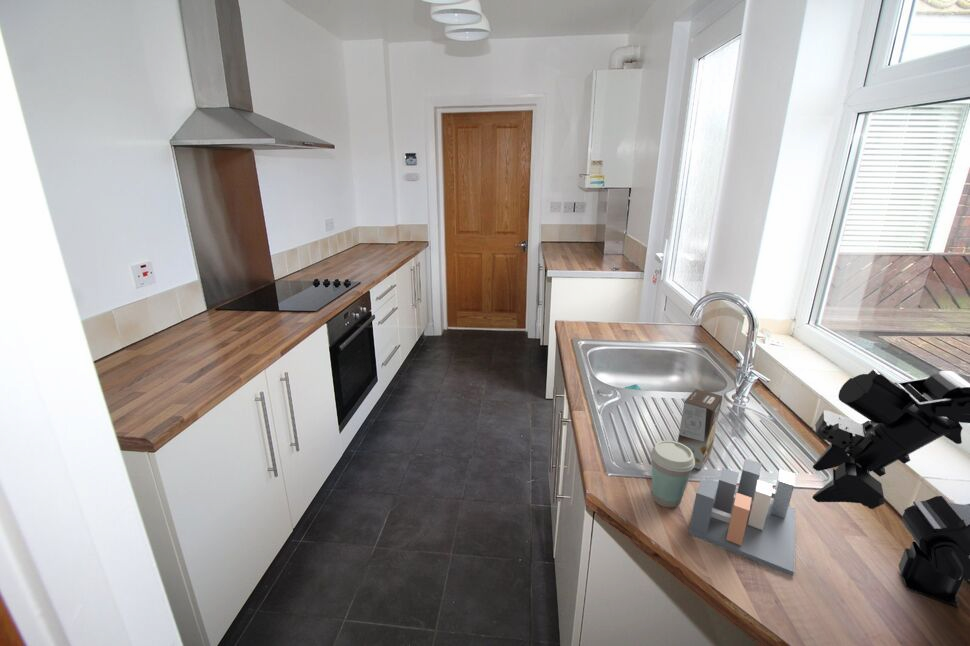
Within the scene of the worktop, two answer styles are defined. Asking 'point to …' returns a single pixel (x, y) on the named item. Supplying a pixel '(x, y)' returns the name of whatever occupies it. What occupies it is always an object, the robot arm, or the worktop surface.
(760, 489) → the ivory key
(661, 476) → the coffee cup
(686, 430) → the coffee box
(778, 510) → the aluminium key
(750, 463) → the grey slotted base
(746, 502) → the terracotta key
